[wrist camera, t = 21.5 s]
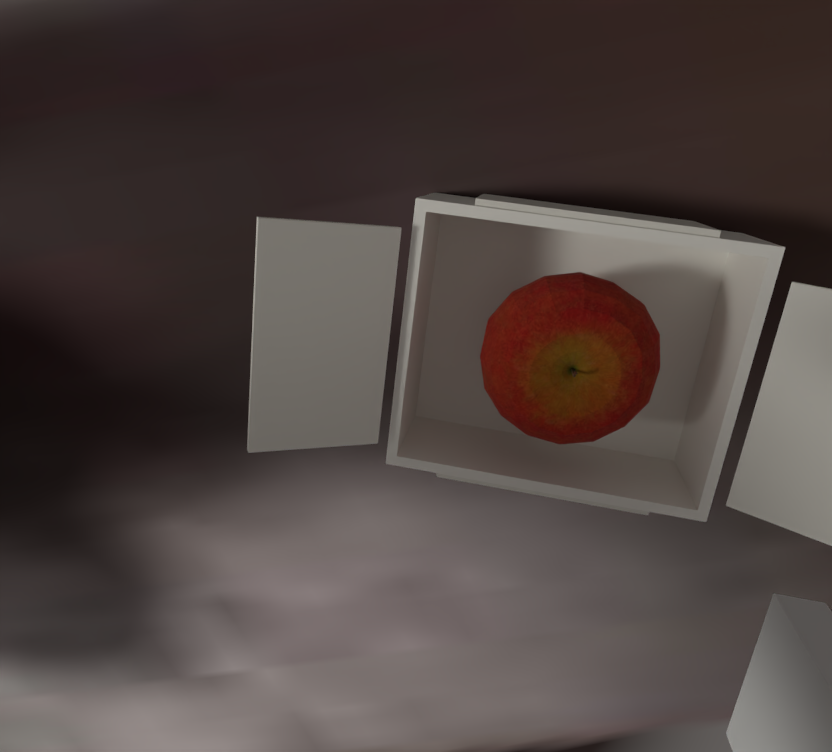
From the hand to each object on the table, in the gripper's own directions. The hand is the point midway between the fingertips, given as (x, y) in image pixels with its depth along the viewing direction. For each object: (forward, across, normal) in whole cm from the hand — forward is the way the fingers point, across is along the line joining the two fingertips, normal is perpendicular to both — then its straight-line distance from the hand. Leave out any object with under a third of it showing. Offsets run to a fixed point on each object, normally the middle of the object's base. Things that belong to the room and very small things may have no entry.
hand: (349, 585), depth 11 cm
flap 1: (+18, -5, -1) cm, 19 cm away
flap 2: (+17, +16, -1) cm, 23 cm away
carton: (+26, +5, -1) cm, 26 cm away
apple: (+25, +5, -1) cm, 26 cm away
